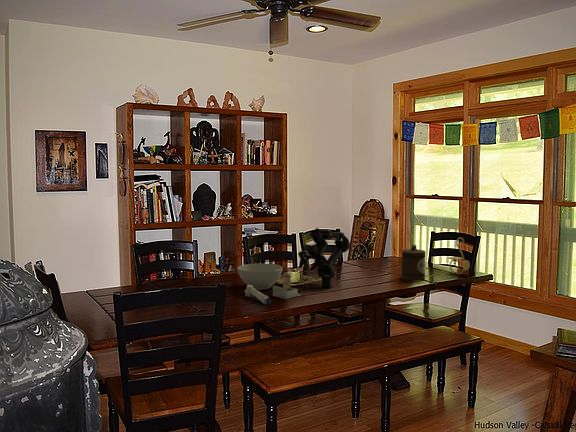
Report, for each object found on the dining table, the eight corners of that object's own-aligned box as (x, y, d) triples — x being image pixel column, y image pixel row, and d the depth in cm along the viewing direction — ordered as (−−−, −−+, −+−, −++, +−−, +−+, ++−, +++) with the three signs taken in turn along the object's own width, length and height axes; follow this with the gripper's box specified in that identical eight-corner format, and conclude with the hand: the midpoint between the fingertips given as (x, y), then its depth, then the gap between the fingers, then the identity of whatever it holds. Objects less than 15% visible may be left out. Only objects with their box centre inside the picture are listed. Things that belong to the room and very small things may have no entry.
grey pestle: (263, 298, 259) (243, 282, 281) (262, 310, 261) (242, 294, 282) (272, 297, 262) (252, 281, 283) (271, 309, 263) (251, 293, 285)
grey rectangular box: (288, 292, 289) (288, 282, 288) (301, 295, 281) (301, 285, 281) (272, 295, 280) (272, 285, 280) (285, 299, 273) (285, 288, 273)
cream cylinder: (288, 293, 284) (288, 272, 283) (291, 294, 280) (291, 273, 279) (282, 294, 282) (282, 272, 281) (285, 295, 278) (285, 274, 277)
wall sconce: (470, 275, 338) (471, 237, 336) (461, 276, 333) (462, 238, 331) (453, 271, 349) (454, 235, 347) (444, 273, 344) (445, 236, 342)
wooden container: (424, 281, 317) (424, 246, 315) (400, 280, 322) (400, 245, 320) (425, 277, 331) (426, 243, 329) (402, 275, 336) (403, 242, 334)
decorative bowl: (291, 285, 306) (291, 265, 305) (266, 294, 283) (266, 273, 282) (254, 281, 320) (254, 262, 319) (228, 289, 297) (228, 268, 296)
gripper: (300, 237, 295) (286, 258, 289) (323, 240, 282) (309, 262, 275) (309, 249, 301) (296, 270, 295) (333, 253, 288) (319, 274, 281)
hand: (304, 269), depth 286 cm, fingers open, 9 cm apart
